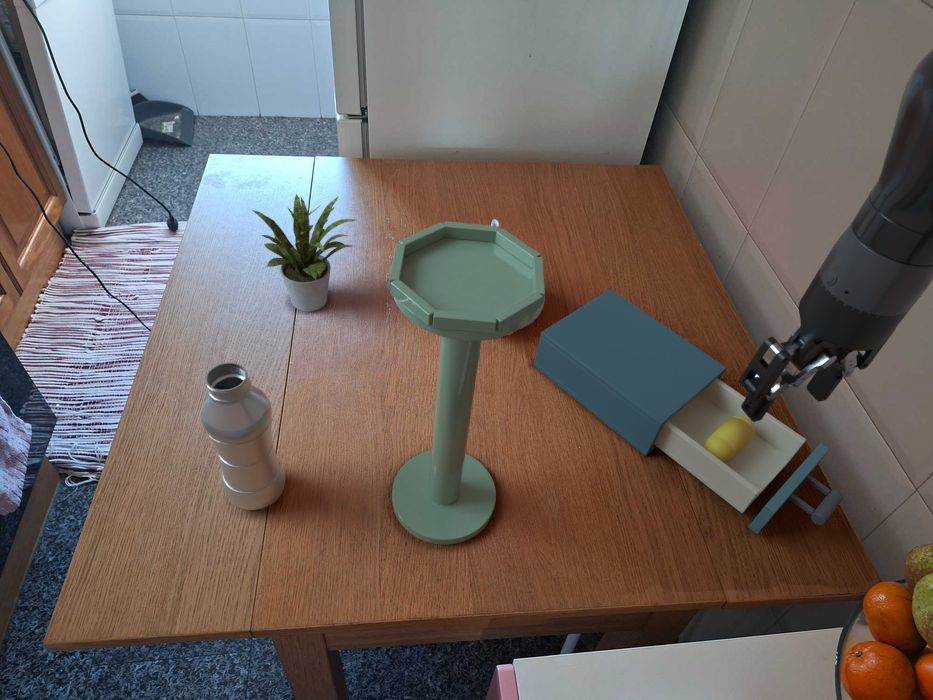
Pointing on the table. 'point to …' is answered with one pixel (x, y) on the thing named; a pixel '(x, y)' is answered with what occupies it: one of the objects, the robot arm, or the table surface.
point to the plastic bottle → (242, 437)
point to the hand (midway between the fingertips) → (783, 404)
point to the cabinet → (624, 367)
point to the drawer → (743, 455)
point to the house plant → (304, 255)
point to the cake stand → (458, 361)
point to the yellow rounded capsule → (730, 438)
